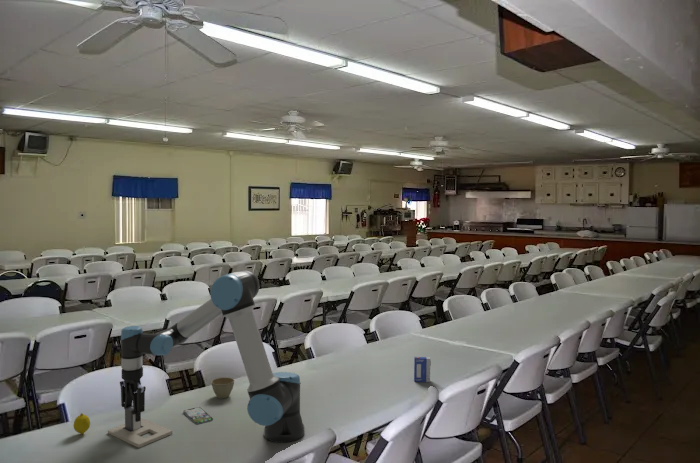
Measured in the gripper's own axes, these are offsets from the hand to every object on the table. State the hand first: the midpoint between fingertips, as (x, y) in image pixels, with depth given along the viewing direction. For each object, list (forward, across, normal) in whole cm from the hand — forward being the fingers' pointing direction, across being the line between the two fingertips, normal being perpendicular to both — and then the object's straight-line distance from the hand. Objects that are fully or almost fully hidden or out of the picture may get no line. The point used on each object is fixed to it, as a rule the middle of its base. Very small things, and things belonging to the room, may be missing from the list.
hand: (133, 427), depth 199 cm
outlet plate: (+1, -4, 0) cm, 5 cm away
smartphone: (+2, -9, -23) cm, 25 cm away
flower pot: (+1, 0, -44) cm, 44 cm away
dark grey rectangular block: (0, 0, 0) cm, 0 cm away
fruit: (+1, +12, +13) cm, 18 cm away
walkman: (+1, -64, -116) cm, 132 cm away
